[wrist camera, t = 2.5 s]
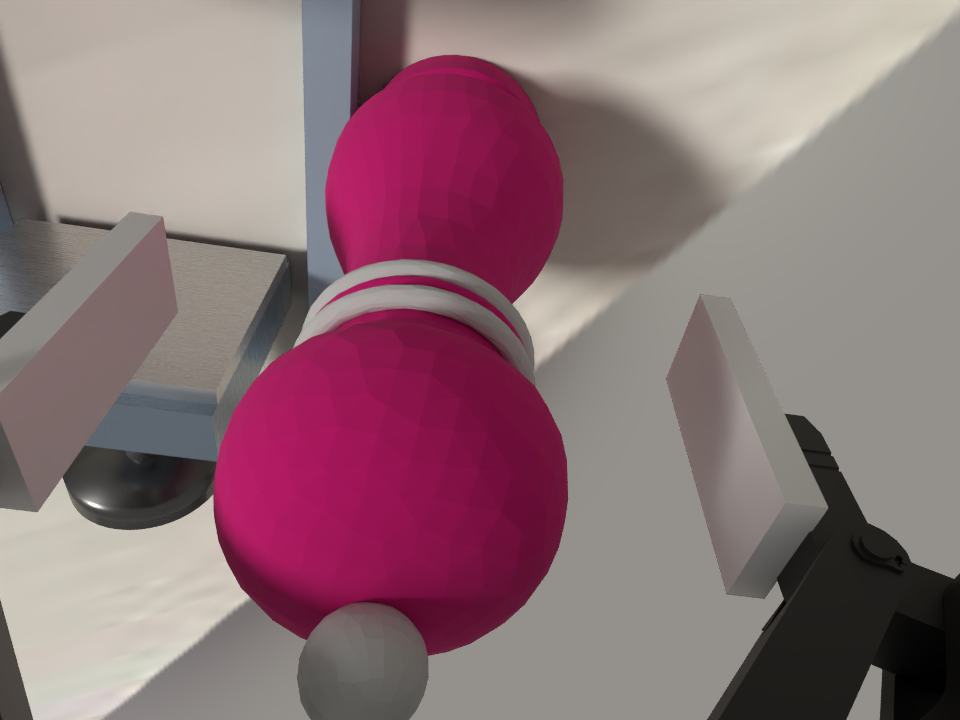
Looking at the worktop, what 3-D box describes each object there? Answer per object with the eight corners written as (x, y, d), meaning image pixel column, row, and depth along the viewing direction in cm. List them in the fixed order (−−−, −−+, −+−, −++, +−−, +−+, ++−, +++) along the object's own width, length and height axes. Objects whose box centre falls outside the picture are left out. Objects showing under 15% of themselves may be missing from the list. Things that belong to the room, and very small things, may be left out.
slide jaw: (29, 212, 26) (-149, 356, 19) (289, 248, 27) (209, 401, 20) (81, 385, 32) (-41, 546, 25) (296, 412, 32) (235, 577, 25)
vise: (-232, -352, 17) (-761, -475, 10) (367, -242, 18) (273, -283, 11) (5, 304, 29) (-155, 457, 22) (351, 351, 30) (302, 511, 23)
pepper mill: (592, 90, 23) (768, 675, 7) (507, 261, 27) (500, 861, 11) (389, -1, 21) (54, 487, 6) (332, 195, 26) (50, 783, 10)
